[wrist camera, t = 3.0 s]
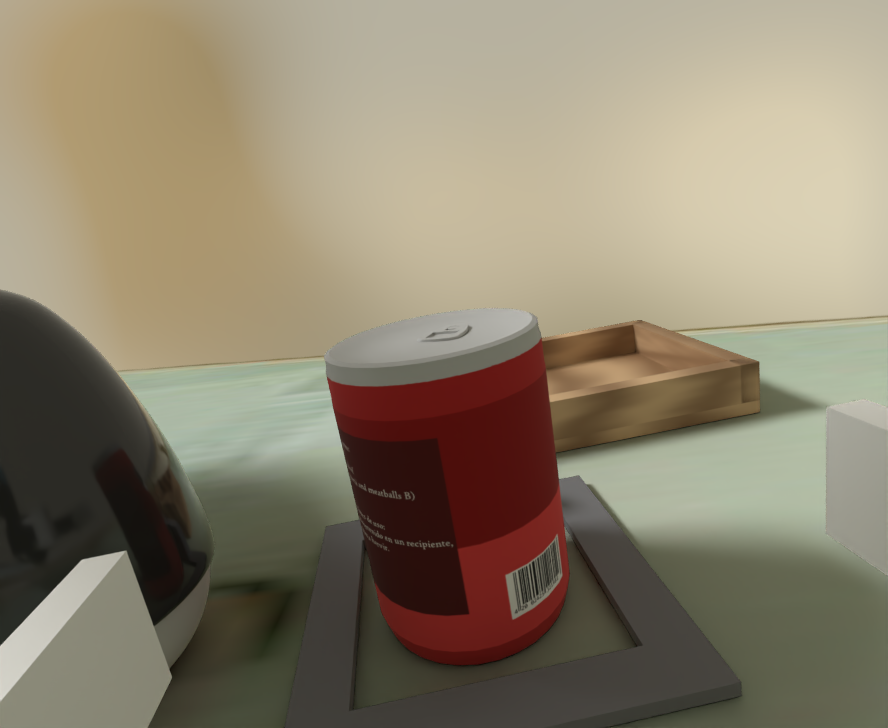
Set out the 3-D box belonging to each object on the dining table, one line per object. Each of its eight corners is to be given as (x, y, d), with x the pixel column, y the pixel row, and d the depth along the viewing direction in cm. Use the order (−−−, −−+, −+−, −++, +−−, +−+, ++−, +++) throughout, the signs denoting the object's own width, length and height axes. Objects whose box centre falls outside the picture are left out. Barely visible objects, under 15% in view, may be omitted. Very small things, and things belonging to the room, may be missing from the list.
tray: (447, 474, 32) (438, 423, 32) (427, 395, 48) (421, 360, 47) (760, 411, 34) (759, 361, 33) (642, 354, 49) (640, 319, 48)
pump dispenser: (125, 575, 27) (17, 280, 24) (288, 599, 23) (190, 248, 20) (-138, 766, 18) (-382, 341, 15) (55, 859, 14) (-213, 303, 11)
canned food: (564, 531, 25) (536, 298, 22) (583, 672, 17) (544, 345, 15) (405, 541, 26) (360, 323, 24) (358, 676, 19) (283, 378, 16)
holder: (275, 803, 15) (243, 703, 14) (328, 534, 28) (313, 474, 27) (741, 695, 16) (738, 594, 15) (579, 483, 29) (573, 423, 28)
